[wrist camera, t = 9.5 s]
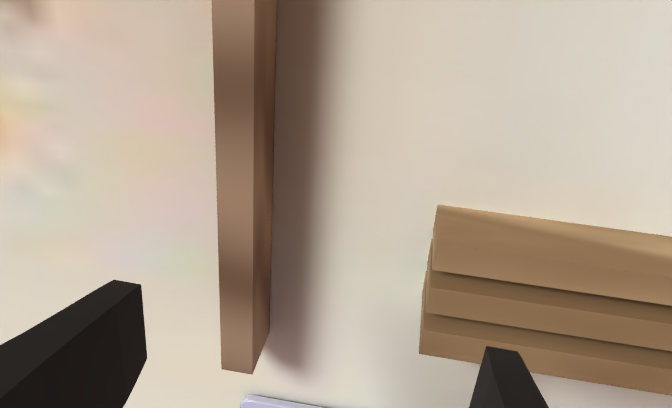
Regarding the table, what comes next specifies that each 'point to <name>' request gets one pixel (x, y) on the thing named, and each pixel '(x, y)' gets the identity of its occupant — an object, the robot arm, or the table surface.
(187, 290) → the table surface
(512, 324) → the offcut stack
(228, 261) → the rack
